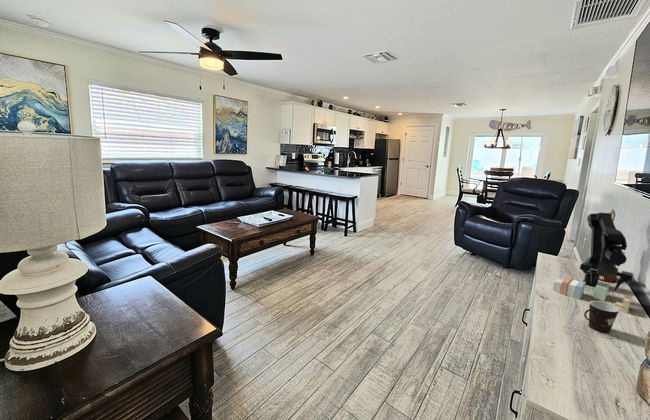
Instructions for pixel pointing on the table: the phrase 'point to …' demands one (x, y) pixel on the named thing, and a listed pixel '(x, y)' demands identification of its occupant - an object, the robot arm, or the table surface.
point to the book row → (569, 287)
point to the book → (601, 291)
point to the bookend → (624, 304)
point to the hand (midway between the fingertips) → (602, 287)
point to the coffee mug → (601, 316)
